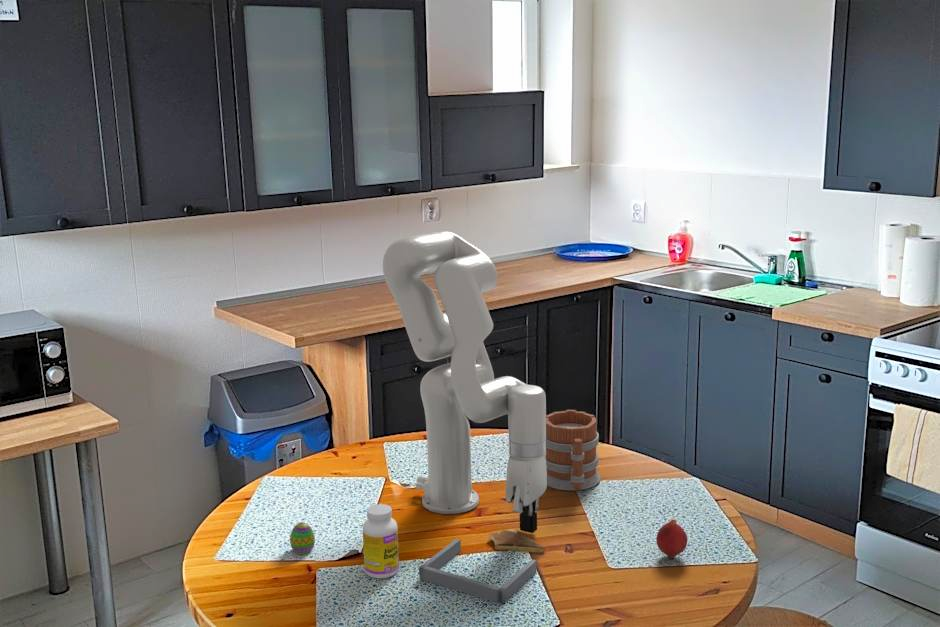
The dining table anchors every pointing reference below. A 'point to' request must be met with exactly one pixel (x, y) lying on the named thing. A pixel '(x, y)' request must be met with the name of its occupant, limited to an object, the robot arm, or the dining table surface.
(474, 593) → the slate bay
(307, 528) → the egg
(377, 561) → the supplement bottle
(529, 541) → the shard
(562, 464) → the mug
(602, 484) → the dining table surface
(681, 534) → the onion
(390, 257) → the robot arm
